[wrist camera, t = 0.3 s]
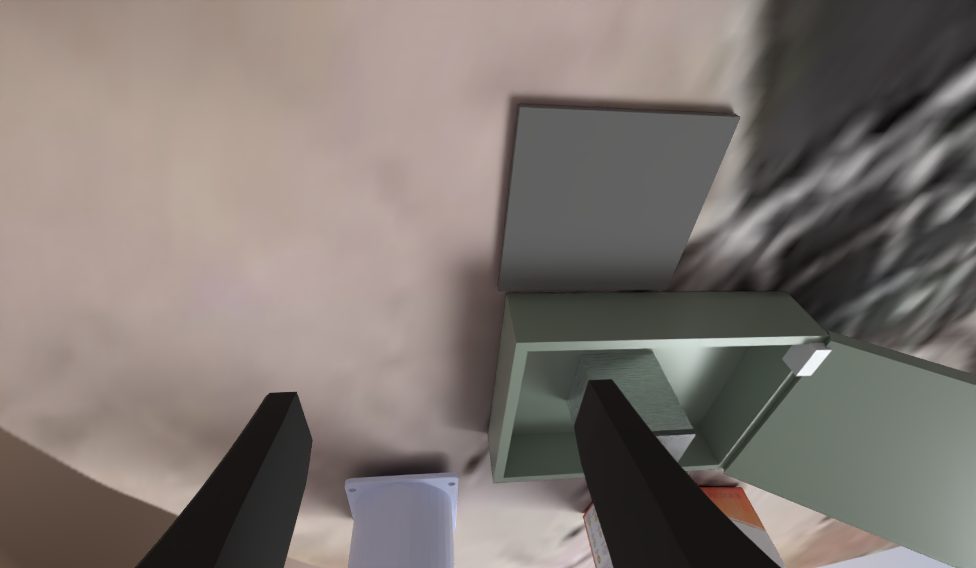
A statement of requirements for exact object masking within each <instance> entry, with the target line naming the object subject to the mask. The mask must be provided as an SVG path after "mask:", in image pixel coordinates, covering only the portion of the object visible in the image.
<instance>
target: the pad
mask: <svg viewBox="0 0 976 568" xmlns="http://www.w3.org/2000/svg"><path fill="white" fill-rule="evenodd" d="M739 120H740V116H738V115H736V114H728V113H706V112H685V111H663V110H642V109H620V108H599V107H577V106H556V105H534V104H518V111H517V120H516V129H515V138H514V146H513V155H512V164H511V173H510V181H509V190H508V199H507V208H506V217H505V225H504V234H503V243H502V252H501V261H500V269H499V278H498V291H569V290H667V288H668V286H669V284H670V281H671V279H672V277H673V274H674V272H675V270H676V267H677V265H678V263H679V260H680V258H681V256H682V253H683V251H684V248H685V246H686V244H687V241H688V239H689V237H690V234H691V232H692V230H693V227H694V225H695V223H696V220H697V218H698V216H699V213H700V211H701V209H702V206H703V204H704V202H705V199H706V197H707V195H708V192H709V190H710V188H711V185H712V183H713V181H714V178H715V176H716V174H717V171H718V169H719V167H720V164H721V162H722V160H723V157H724V155H725V153H726V150H727V148H728V146H729V143H730V141H731V139H732V136H733V134H734V132H735V129H736V127H737V124H738V122H739Z"/></svg>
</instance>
